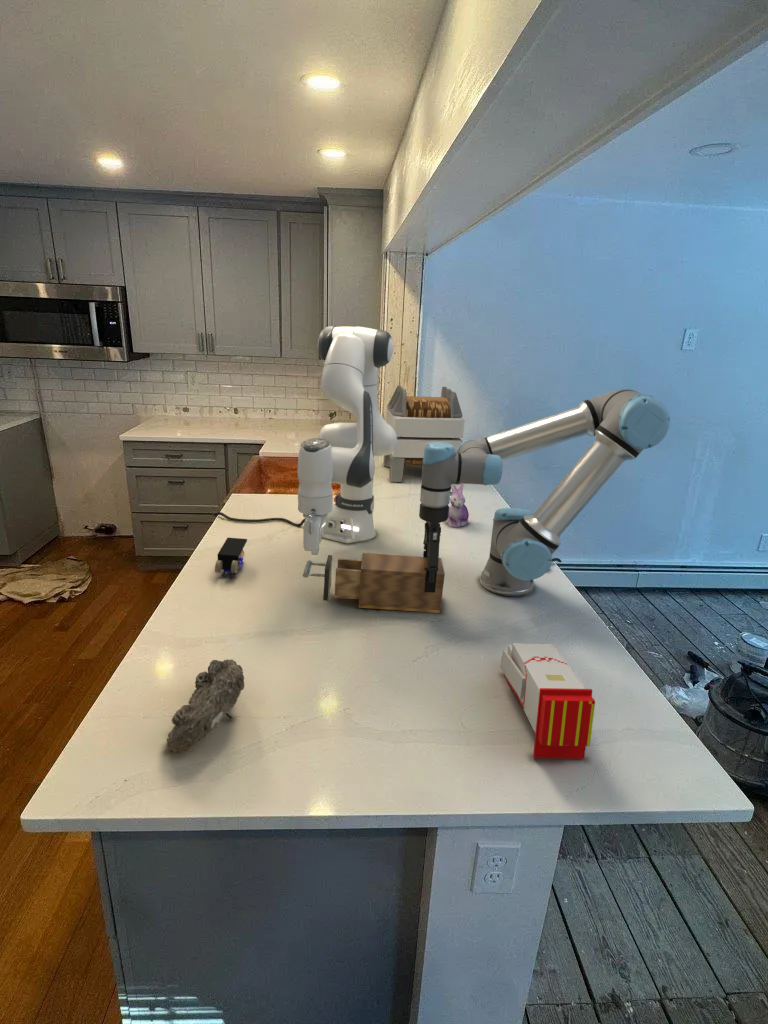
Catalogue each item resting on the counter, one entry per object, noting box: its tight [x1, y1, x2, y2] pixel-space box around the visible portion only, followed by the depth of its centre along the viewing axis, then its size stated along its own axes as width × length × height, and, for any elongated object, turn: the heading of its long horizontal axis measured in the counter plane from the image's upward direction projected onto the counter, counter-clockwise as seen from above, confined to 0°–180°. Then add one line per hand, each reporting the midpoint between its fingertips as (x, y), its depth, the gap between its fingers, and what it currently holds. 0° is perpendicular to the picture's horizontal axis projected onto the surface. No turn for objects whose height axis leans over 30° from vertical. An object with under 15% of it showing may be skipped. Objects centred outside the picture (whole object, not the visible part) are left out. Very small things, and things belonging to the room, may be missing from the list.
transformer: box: [383, 384, 465, 483], centre depth 268 cm, size 34×33×41 cm
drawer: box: [302, 554, 362, 602], centre depth 151 cm, size 26×9×9 cm, turn 90°
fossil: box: [166, 658, 245, 754], centre depth 106 cm, size 22×10×15 cm
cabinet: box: [358, 552, 446, 614], centre depth 152 cm, size 22×10×11 cm, turn 90°
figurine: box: [445, 483, 470, 528], centre depth 210 cm, size 9×10×15 cm
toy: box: [499, 642, 596, 760], centre depth 113 cm, size 12×13×30 cm
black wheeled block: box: [214, 537, 248, 578], centre depth 166 cm, size 7×8×15 cm
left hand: (315, 552), depth 149 cm, fingers closed
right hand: (428, 581), depth 152 cm, fingers closed on cabinet, 10 cm apart
